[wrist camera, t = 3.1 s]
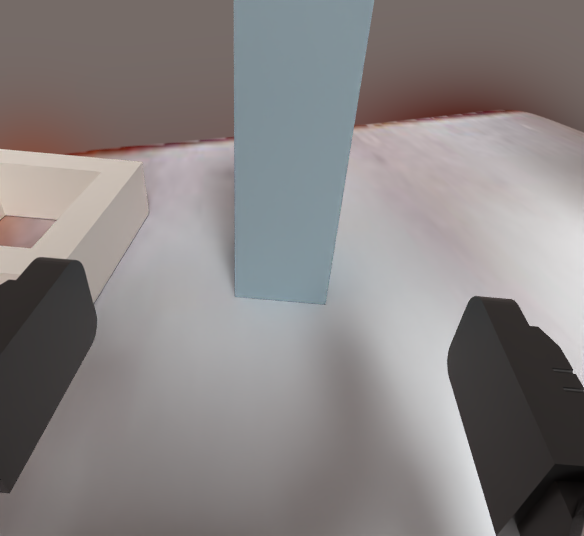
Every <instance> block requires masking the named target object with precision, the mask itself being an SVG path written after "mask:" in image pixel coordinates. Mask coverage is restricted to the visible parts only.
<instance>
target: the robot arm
mask: <svg viewBox="0 0 584 536" xmlns="http://www.w3.org/2000/svg"><path fill="white" fill-rule="evenodd" d="M96 328H97V316H96V312H95V308H94V304H93V300H92V296H91V292H90V289H89V285H88V281H87V277H86V273H85V270H84V267H83V265H82V263H81V262H80V261H78V260H71V259H59V258H48V257H38V258H36V259H34V260H33V261H32V262H31V263H30V265H29V266H28V267H27V268H26V269H25V270H24V271H23V273H22V274H21V275H20V276H19V277H18V278H17V279H16V280H10V279H9V280H7V281H6V282H4V283H2V284H1V285H0V492H1V493H10V492H11V490H12V488H13V486H14V485H15V483H16V481H17V479H18V477H19V475H20V474H21V472H22V470H23V468H24V466H25V465H26V463H27V461H28V459H29V457H30V456H31V454H32V452H33V450H34V448H35V446H36V445H37V443H38V441H39V439H40V437H41V436H42V434H43V432H44V430H45V428H46V427H47V425H48V423H49V421H50V419H51V418H52V416H53V414H54V412H55V410H56V408H57V407H58V405H59V403H60V401H61V399H62V398H63V396H64V394H65V392H66V390H67V389H68V387H69V385H70V383H71V381H72V379H73V378H74V376H75V374H76V372H77V370H78V369H79V367H80V365H81V363H82V361H83V360H84V358H85V356H86V354H87V352H88V351H89V349H90V347H91V345H92V343H93V340H94V337H95V334H96ZM447 367H448V375H449V379H450V382H451V385H452V389H453V392H454V396H455V399H456V402H457V406H458V409H459V412H460V416H461V419H462V422H463V426H464V429H465V433H466V436H467V439H468V443H469V446H470V449H471V453H472V456H473V460H474V463H475V466H476V470H477V473H478V476H479V480H480V483H481V486H482V490H483V493H484V497H485V500H486V503H487V507H488V510H489V513H490V517H491V520H492V524H493V527H494V530H495V534H496V536H584V387H583V386H582V384H581V382H580V381H579V379H578V377H577V375H576V374H573V369H572V367H571V365H570V364H569V362H568V360H567V358H566V357H565V355H564V353H563V352H562V350H561V348H560V347H559V346H558V345H557V344H556V343H555V342H554V341H553V340H552V339H551V338H550V337H549V336H547V335H546V334H545V333H544V332H543V331H542V330H541V329H540V328H539V327H535V326H529V324H528V322H527V321H526V319H525V317H524V315H523V313H522V311H521V309H520V308H519V306H518V304H517V303H516V302H515V301H514V300H512V299H503V298H491V297H480V296H474V297H472V298H471V299H470V301H469V302H468V304H467V307H466V309H465V311H464V314H463V316H462V319H461V321H460V323H459V326H458V328H457V331H456V333H455V335H454V338H453V340H452V343H451V345H450V348H449V352H448V359H447Z"/></svg>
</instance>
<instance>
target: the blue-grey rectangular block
mask: <svg viewBox="0 0 584 536" xmlns="http://www.w3.org/2000/svg"><path fill="white" fill-rule="evenodd" d="M373 4H374V0H234V183H235V297H245V298H257V299H268V300H279V301H291V302H302V303H313V304H325V303H326V297H327V291H328V285H329V278H330V272H331V266H332V260H333V253H334V247H335V241H336V235H337V229H338V222H339V216H340V210H341V204H342V197H343V191H344V185H345V179H346V172H347V166H348V160H349V154H350V148H351V141H352V135H353V129H354V123H355V116H356V109H357V104H358V98H359V91H360V85H361V79H362V73H363V66H364V60H365V54H366V47H367V41H368V35H369V29H370V23H371V17H372V10H373Z"/></svg>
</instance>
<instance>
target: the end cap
mask: <svg viewBox="0 0 584 536" xmlns="http://www.w3.org/2000/svg"><path fill="white" fill-rule="evenodd" d="M148 214H149V207H148V200H147V193H146V185H145V178H144V171H143V163H142V162H137V161H126V160H115V159H104V158H93V157H82V156H71V155H60V154H48V153H37V152H26V151H15V150H4V149H0V220H1V219H2V218H3V217H4V216H5V215H9V216H20V217H32V218H43V219H54V220H57V221H56V222H55V223H54V224H53V225H52V226H51V227H50V228H49V230H48V231H47V232H46V233H45V234H44V235H43V236H42V237H41V238H40V239H39V240H38V241H37V243H36V244H35V245H34V246H33V247H32V248H21V247H9V246H0V285H1V284H2V283H4V282H6V281H7V280H9V279H10V280H16V279H17V278H18V277H19V276H20V275H21V274H22V273H23V271H24V270H25V269H26V268H27V267H28V266H29V265H30V263H31V262H32V261H33V260H34V259H36V258H38V257H48V258H59V259H71V260H78V261H80V262H81V263H82V265H83V267H84V270H85V273H86V277H87V281H88V285H89V289H90V292H91V296H92V300H93V304H94V303H95V301H96V299H97V298H98V296H99V294H100V293H101V291H102V289H103V288H104V286H105V285H106V283H107V281H108V280H109V278H110V276H111V275H112V273H113V271H114V270H115V268H116V267H117V265H118V263H119V262H120V260H121V258H122V257H123V255H124V253H125V252H126V250H127V249H128V247H129V245H130V244H131V242H132V240H133V239H134V237H135V235H136V234H137V232H138V231H139V229H140V227H141V226H142V224H143V222H144V221H145V219H146V217H147V216H148Z"/></svg>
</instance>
